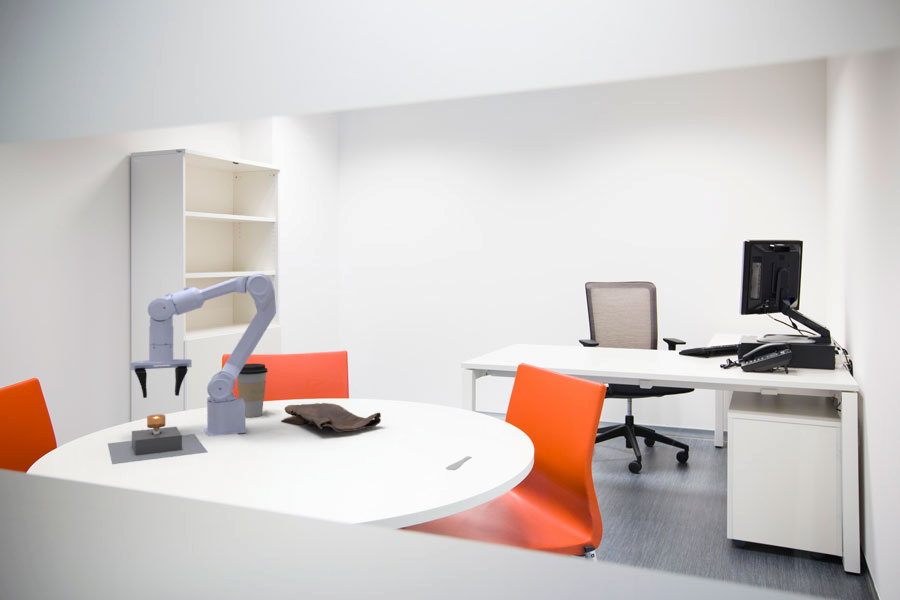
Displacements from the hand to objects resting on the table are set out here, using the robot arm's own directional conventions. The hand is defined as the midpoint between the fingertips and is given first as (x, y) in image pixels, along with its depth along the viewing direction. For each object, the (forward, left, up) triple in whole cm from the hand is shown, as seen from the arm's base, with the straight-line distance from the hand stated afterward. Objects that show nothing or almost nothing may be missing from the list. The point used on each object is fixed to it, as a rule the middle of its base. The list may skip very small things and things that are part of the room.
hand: (161, 396), depth 170 cm
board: (+3, +14, -10) cm, 18 cm away
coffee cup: (-26, -14, -11) cm, 32 cm away
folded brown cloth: (-43, +8, -11) cm, 45 cm away
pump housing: (+3, +14, -10) cm, 17 cm away
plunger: (+3, +14, -10) cm, 18 cm away
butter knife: (-61, +55, -11) cm, 83 cm away
